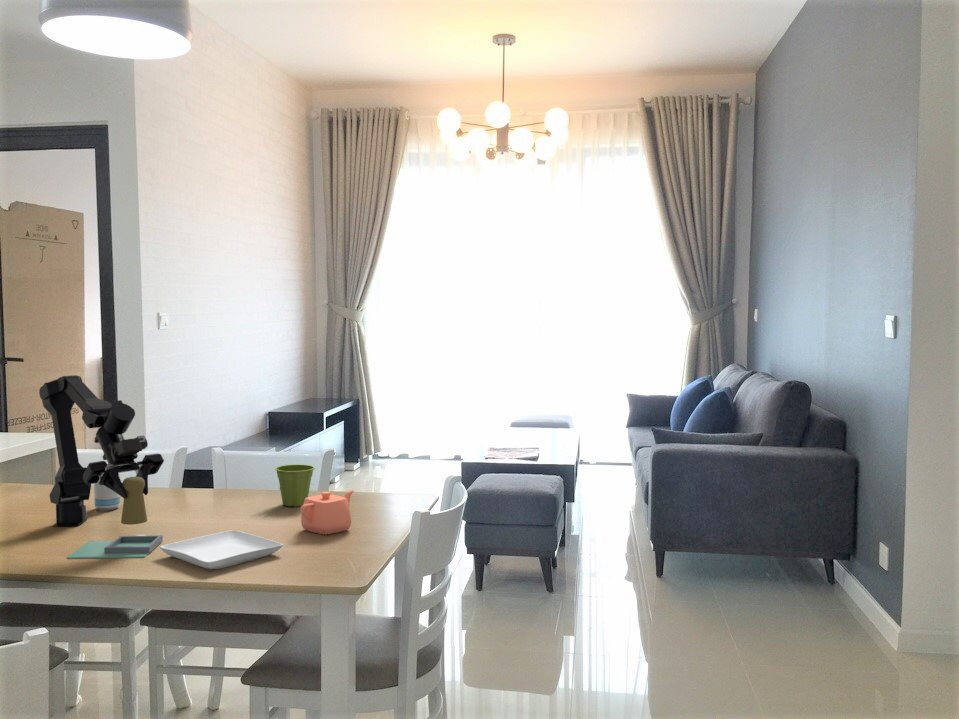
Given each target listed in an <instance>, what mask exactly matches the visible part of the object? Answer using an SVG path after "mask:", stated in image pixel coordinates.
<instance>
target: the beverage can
mask: <svg viewBox="0 0 959 719" xmlns="http://www.w3.org/2000/svg"><path fill="white" fill-rule="evenodd" d="M99 478H100V477H99ZM119 478H120V479H121V474H120V473H119ZM100 480H101V479H99V481H98V482H97V483H94V484H93V487H94V488H93V490H94V508H96V509H98V511H104V512H105V511H115V510H116V509H117V508H118V507H119V506H120V505H121V496H120V495H118V494H117V493H116V492H114V491H113V490H111V489H110V488H108V487H106V486H104V485H100V484H99V482H100Z"/></svg>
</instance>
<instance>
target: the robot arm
mask: <svg viewBox="0 0 959 719" xmlns="http://www.w3.org/2000/svg"><path fill="white" fill-rule="evenodd" d="M38 394H39V399H41V401H42V406H43V408H44V409H45V410H46V411H47V412H48V413H49V414H50V415H51V419H52V420H51V421H52V425H53V426H52V428H53V433H54V439H55V445H56V453H57V457H58V465H59V466H58V467H59V468H58V470H57V472H56V474H55V476H54V485H53V487H52V489H51V491H50V493H49V500H50V503H51V504H54V505H55V517H56V520H55V522H54V524H53V526H54V527H70V526H71V527H76V526H80V525H82V524H83V523H84V522H87V521H88V520H87V519H88V518H87V506H86V505H85V502H84V501H89V500H90V497H91V496H90V495H91V489H92V485H94V483H97V482H98V481H99V479H101V480H100V482H99V484H100V485H104V486H106V487H108V488H110V489H111V490H113V491H114V492H116V493H117V494H118V495H120V498H123V500H124V499H126V498H127V493H126V490H125V488H124V486H123V484H122V483H123V481H122V480H121V477H120V478H119V473H127V472H133V471H134V472H135V474H136V475H135V477H141V478H143V479H144V481H145V487H144V489H143V495H144V496H146V495H148V494H149V483H148V482H149V475H150V476H151V475H152V476H153V475H155V474H157V473H158V472H159V471H160V469H161V468H162V465H163V464H164V462H165V459H164V458H163V456H162V454H161V453H159V452H158V453H151V454H144V456H143V459H141V460H139V461H135V459H138V456H139V455H138V453H139V452H142V451H143V450H145V449H146V448H148V446H149V445H148V440H147V438H146V436H145V435H144V434H143V435H138V436H137V437H135V438H128V439H127V438H126V439H125V438H124V433H126V432H127V431H128V429H129V427H130V425H131V424H132V422H133V419H135V416H136V411H135V409H134V408H133V407H132V406H130V405H128V404H127V403H123V400H121V399H119V400H112V403H111V402H109V401H107V400H103V399H101V398H98V397H97V396H96V395H95V393H94V392H93V391H92V390H91V389H90V388H89V387H88V386H87V385H86V384H85V383H84V381H83V378H82V377H81V376H80V375H77V374H76V375H75V374H74V375H63V376H60V377H58V378H57V379H54V380H51V381H48V382H44V383H43V385H42V386H40V388H39V392H38ZM74 405H76V406H77V407H78V408H79V409H80V410H81V412H82V417H81V420H82V421H83V423H84V424H85V426H86V427H87V428H88V429H96V428H97V431H96V433H95V437H94V440H93V441H94V444H95V443H96V444H98V443H99V446H100V447H101V450H102V452H103V455H102V459H103V460H100V461H93V462H88V464H87V467H83V465H81V463H80V462H79V456H78V449H77V443H76V437H75V431H74V425H73V424H74V423H73V419H72V413H71V411H72V409H73V407H74ZM99 477H100V478H99Z"/></svg>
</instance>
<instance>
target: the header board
mask: <svg viewBox="0 0 959 719" xmlns="http://www.w3.org/2000/svg"><path fill="white" fill-rule="evenodd" d="M163 537H164V536H163V535H162V534H161V535H157V534H156V535H153V534H151V535H149V534H136V535H119V536H118V537H117V538H115V539H114V540H88V541H87V542H86V543H85V544H83V545H82V546H80V547H79V548H78V549H76V550H74V551H73V552H72V553H71V554H70V555H68V556H67V557H66V559H117V558H121V559H122V558H123V559H125V558H127V559H128V558H129V559H130V558H135V559H137V558H146V557H147V556H148V555H149V554H150V553H151V552H153V551H154V549H156V547H158V546H159V545H160V544H161V543H162V542H163Z"/></svg>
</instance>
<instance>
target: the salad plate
mask: <svg viewBox="0 0 959 719" xmlns="http://www.w3.org/2000/svg"><path fill="white" fill-rule="evenodd" d="M283 546H284V543H281V542H280V541H279V542H278V541H275V540H272V539H269V538H266V537H263V536H259V535H256V534H252V533H248V532H245V531H241V530H236V529H230V530H225V531H221V532H215V533H211V534H207V535H202V536H201V535H200V536H196V537H192V538H188V539H187V538H186V539H183V540H180V541H176V542H171V543H166V544H163V545H160V546H159V548H160V550H161V551H162V552H163V553H165V554H166V555H169V556H171V557H173V558H176V559H179V560H181V561H184V562H186V563H189V564H192V565H194V566H198V567H201V568H204V569H207V570H208V569H209V570H219V569H223V568H228V567H232V566H236V565H240V564H242V563H246V562H247V563H248V562H251V561H255V560H257V559H258V560H259V559H260V558H264V557H267V556H270V555H272V554H275V553H276V552H278V551H279V550H281V549H282V547H283Z"/></svg>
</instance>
